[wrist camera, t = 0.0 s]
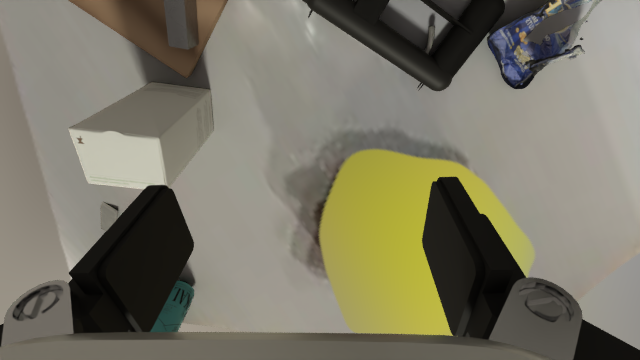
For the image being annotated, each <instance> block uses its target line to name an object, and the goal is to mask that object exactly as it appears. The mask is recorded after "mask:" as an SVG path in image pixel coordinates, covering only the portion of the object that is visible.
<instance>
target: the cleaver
mask: <svg viewBox="0 0 640 360" xmlns="http://www.w3.org/2000/svg"><path fill="white" fill-rule="evenodd" d="M100 209H101V229H103V230H105V231H107V230H108V229H109V228H110V227H111V226H112V225H113V223H114V222H115V221H116V220H117V216H118V211H117V210H116V209H114V208H112V207H111V206H109V205H107V204H106V203H104V202H102V205H101V208H100Z"/></svg>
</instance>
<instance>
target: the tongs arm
mask: <svg viewBox="0 0 640 360" xmlns="http://www.w3.org/2000/svg"><path fill="white" fill-rule="evenodd" d="M164 9H165V17H166V26H167V34H168V43H169V46H170V47H176V48H182V49H190V48H193V47H195V46H197V45H199V40H198V24H197V9H196V0H164Z"/></svg>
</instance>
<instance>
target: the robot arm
mask: <svg viewBox="0 0 640 360" xmlns="http://www.w3.org/2000/svg"><path fill="white" fill-rule="evenodd" d="M422 243H423V248H424V251H425V254H426V257H427V261H428V264H429V266H430V270H431V273H432V276H433V279H434V282H435V285H436V288H437V291H438V294H439V297H440V300H441V303H442V306H443V309H444V312H445V315H446V318H447V321H448V325H449V327H450V330H451V333H452V335H453V336H445V335H415V334H366V333H365V334H363V333H360V334H359V333H259V332H150V331H151V329H152V328H153V326H154V324H155V322H156V320H157V318H158V316H159V314H160V312H161V311H162V309H163V307H164V305H165V303H166V301H167V299H168V297H169V295H170V293H171V291H172V289H173V288H174V286H175V284H176V282H177V280H178V278H179V276H180V274H181V272H182V270H183V268H184V266H185V265H186V263H187V261H188V259H189V257H190V255H191V253H192V251H193V248H194V242H193V239H192V236H191V234H190V231H189V229H188V226H187V224H186V221H185V219H184V216H183V214H182V211H181V209H180V206H179V204H178V201H177V199H176V196H175V194H174V192H173V190H172V189H169V188H168V186H167V185H149V186H147V187H146V188H145V189H144V190H143V191H142V192H141V194H140V195H139V196H138V197H137V198H136V199H135V200H134V201H133V202H132V203H131V205H130V206H129V207H128V208H127V209H126V210H125V211H124V212H123V213H122V215H121V216H120V217H119V218H118V219H117V220H116V221H115V222H114V223H113V225H112V226H111V227H110V228H109V229H108V230H107V231H106V232H105V233H104V235H103V236H102V237H101V238H100V239H99V240H98V241H97V242H96V243H95V244H94V246H93V247H92V248H91V249H90V250H89V251H88V252H87V253H86V254H85V256H84V257H83V258H82V259H81V260H80V261H79V262H78V263H77V264H76V266H75V267H74V268H73V269H72V270H71V271H70V272H69V274H70V276H71V277H72V278H73V279H72V280H71V281H70V282H69V283H67V282H65V281H61V280H55V281H49V282H46V283H43V284H40V285H38V286H36V287H34V288H32V289H31V290H29V291H27V292H26V293H24V294H23V295H22V296H20V297H19V298H18V299H17V300H16V301H15V302H14V303H13V304H12V305H11V306H10V308H9V309H8V310H7V313H6V315H5V320H4V324H2V325H0V360H640V350H638V349H637V348H635V347H633V346H631V345H629V344H627V343H625V342H623V341H622V340H620V339H618V338H616V337H614V336H612V335H610V334H609V333H607V332H605V331H603V330H601V329H600V328H598V327H596V326H594V325H592V324H590V323H588V322H586V321H585V320H583V319H582V311H581V308H580V306H579V304H578V303H577V301H576V300H575V299H574V298H573V297H572V295H570V294H569V293H568V292H567V291H565V290H564V289H563V288H561V287H559V286H558V285H556V284H554V283H552V282H549V281H547V280H544V279H540V278H533V277H530V278H526V276H525V275H524V273H523V272H522V270H521V269H520V267H519V266H518V264H517V262H516V261H515V259H514V258H513V256H512V255H511V253H510V252H509V250H508V248H507V247H506V245H505V244H504V242H503V241H502V239H501V237H500V236H499V234H498V233H497V231H496V230H495V228H494V226H493V225H492V223H491V222H490V220H489V219H488V217H487V216H486V215H484V214H480V213H479V212H478V210H477V208H476V207H475V205H474V203H473V202H472V200H471V199H470V197H469V195H468V194H467V192H466V190H465V189H464V187H463V185H462V184H461V182H460V181H459V179H458V178H457V177H439V178H438V180H437V181H436V182H433V183H432V186H431V191H430V197H429V203H428V209H427V214H426V221H425V226H424V232H423V238H422Z"/></svg>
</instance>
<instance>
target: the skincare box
mask: <svg viewBox="0 0 640 360" xmlns="http://www.w3.org/2000/svg"><path fill="white" fill-rule="evenodd" d="M68 129H69V132H70V135H71V137H72V140H73V143H74V145H75V148H76V151H77V154H78V156H79V159H80V162H81V165H82V168H83V171H84V173H85V176H86V179H87V181H88V183H90V184H100V185H110V186H119V187H128V188H137V189H145V188H146V187H147V186H149V185H167V186H168V188H170V186H171V185H172V184H173V183H174V181H175V180H176V179H177V177H178V176H179V175H180V173H181V172H182V171H183V170H184V168H185V167H186V166H187V164H188V163H189V162H190V161H191V159H192V158H193V157H194V155H195V154H196V153H197V152H198V150H199V149H200V148H201V146H202V145H203V144H204V143H205V141H206V140H207V139H208V137H209V136H210V135H211V134H212V132H213V117H212V104H211V90H209V89H203V88H195V87H187V86H180V85H172V84H164V83H155V82H151V83H149V84H148V85H146V86H144V87H142V88H141V89H139V90H137V91H135V92H134V93H132V94H130V95H128V96H126V97H125V98H123V99H121V100H119V101H117V102H116V103H114V104H112V105H110V106H108V107H107V108H105V109H103V110H101V111H100V112H98V113H96V114H94V115H92V116H91V117H89V118H87V119H85V120H83V121H82V122H80V123H78V124H76V125H74V126H72V127H69V128H68Z"/></svg>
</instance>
